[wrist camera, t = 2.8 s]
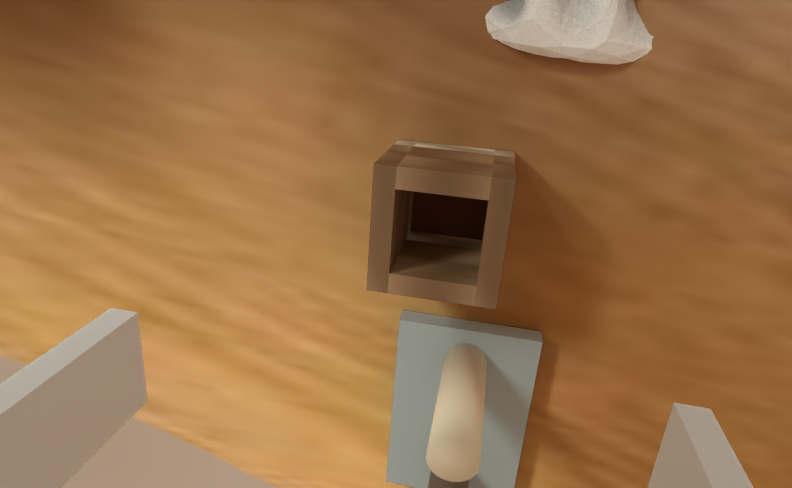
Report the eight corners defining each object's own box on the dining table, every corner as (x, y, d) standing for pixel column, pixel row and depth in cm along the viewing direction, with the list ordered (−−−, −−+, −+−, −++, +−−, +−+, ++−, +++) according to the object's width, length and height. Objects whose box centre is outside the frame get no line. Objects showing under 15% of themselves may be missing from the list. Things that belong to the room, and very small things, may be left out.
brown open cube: (391, 244, 31) (366, 289, 26) (399, 139, 29) (373, 163, 23) (498, 259, 30) (496, 309, 25) (514, 151, 28) (516, 180, 23)
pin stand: (389, 468, 37) (354, 597, 28) (403, 310, 32) (366, 406, 24) (510, 492, 36) (511, 634, 27) (541, 331, 31) (554, 441, 23)
